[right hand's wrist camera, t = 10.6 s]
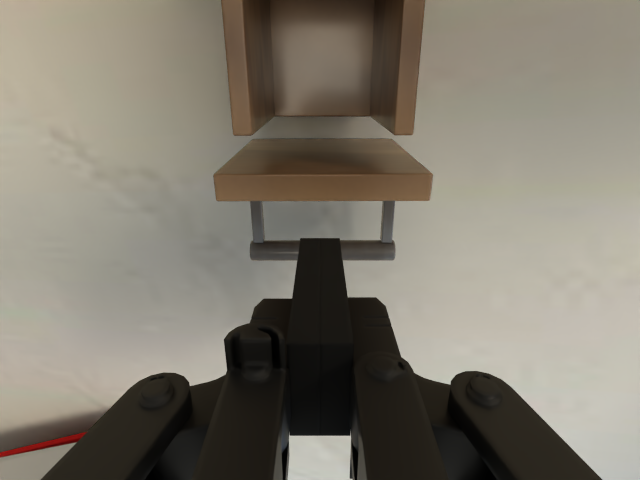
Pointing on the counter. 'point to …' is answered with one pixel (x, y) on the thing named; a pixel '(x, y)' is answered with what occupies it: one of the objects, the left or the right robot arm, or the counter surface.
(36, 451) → the toy
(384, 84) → the drawer
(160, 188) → the counter surface
